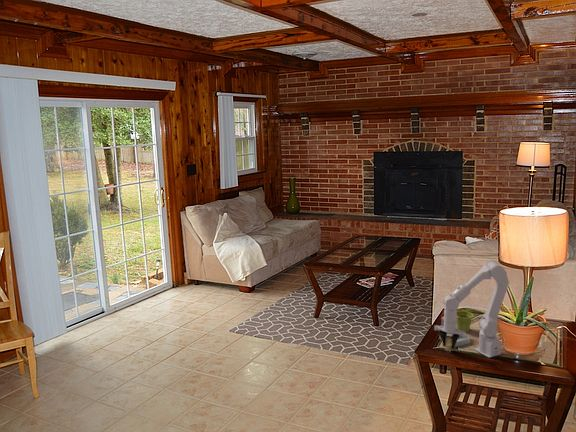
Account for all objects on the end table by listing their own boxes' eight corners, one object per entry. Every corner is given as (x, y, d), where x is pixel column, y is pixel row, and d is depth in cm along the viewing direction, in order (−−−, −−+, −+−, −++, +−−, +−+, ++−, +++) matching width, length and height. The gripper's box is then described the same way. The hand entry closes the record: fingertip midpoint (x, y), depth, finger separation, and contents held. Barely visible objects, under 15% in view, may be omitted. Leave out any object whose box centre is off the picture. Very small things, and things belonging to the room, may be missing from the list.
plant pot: (475, 333, 267) (475, 317, 265) (456, 333, 267) (457, 317, 265) (469, 326, 276) (469, 310, 274) (451, 326, 276) (452, 310, 275)
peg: (454, 351, 248) (455, 337, 247) (448, 353, 247) (449, 339, 245) (449, 348, 251) (449, 334, 250) (443, 349, 250) (443, 336, 248)
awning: (457, 336, 264) (458, 317, 262) (446, 338, 261) (447, 320, 259) (451, 332, 268) (451, 314, 266) (440, 335, 265) (441, 317, 263)
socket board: (470, 342, 256) (470, 338, 256) (454, 347, 252) (454, 342, 252) (454, 334, 266) (454, 330, 266) (439, 338, 262) (439, 333, 262)
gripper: (468, 320, 245) (466, 347, 247) (438, 314, 253) (437, 340, 256) (463, 326, 239) (462, 353, 242) (433, 319, 248) (432, 345, 250)
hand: (449, 346), depth 248 cm, fingers closed on peg, 4 cm apart
